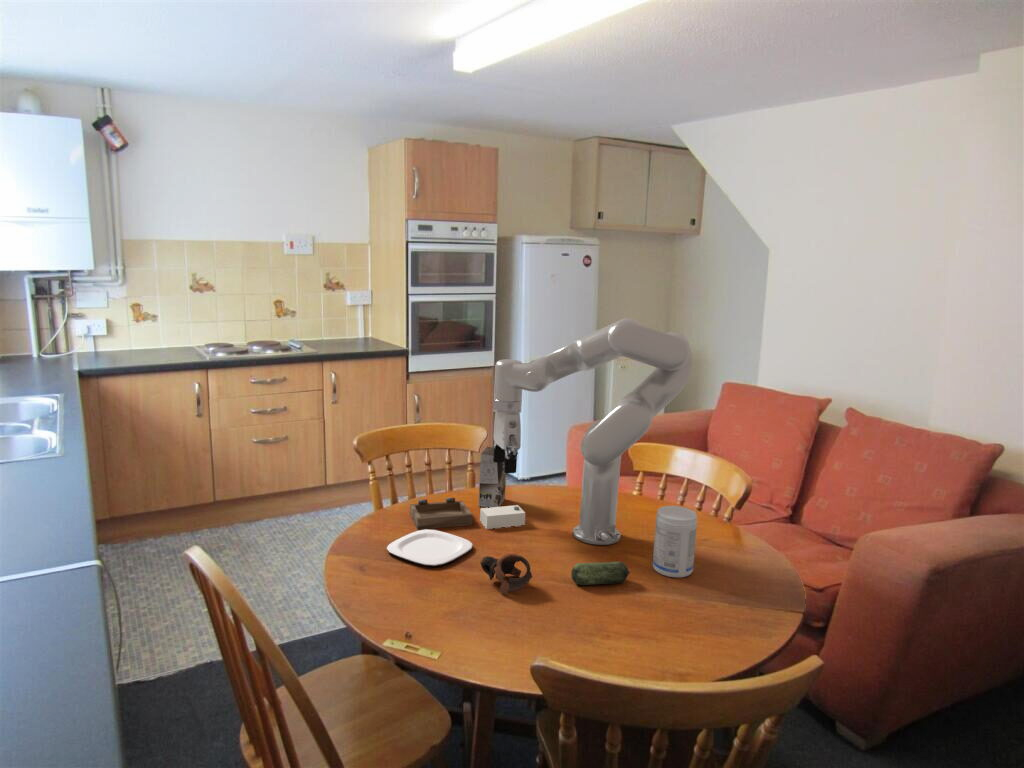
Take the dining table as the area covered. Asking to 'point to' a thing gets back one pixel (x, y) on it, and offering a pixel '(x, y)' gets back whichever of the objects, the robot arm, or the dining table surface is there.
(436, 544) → the plate
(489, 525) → the white foam brick
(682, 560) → the supplement tub
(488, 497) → the coffee box
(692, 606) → the dining table surface
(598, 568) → the vegetable
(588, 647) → the dining table surface
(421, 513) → the brown wooden tray
